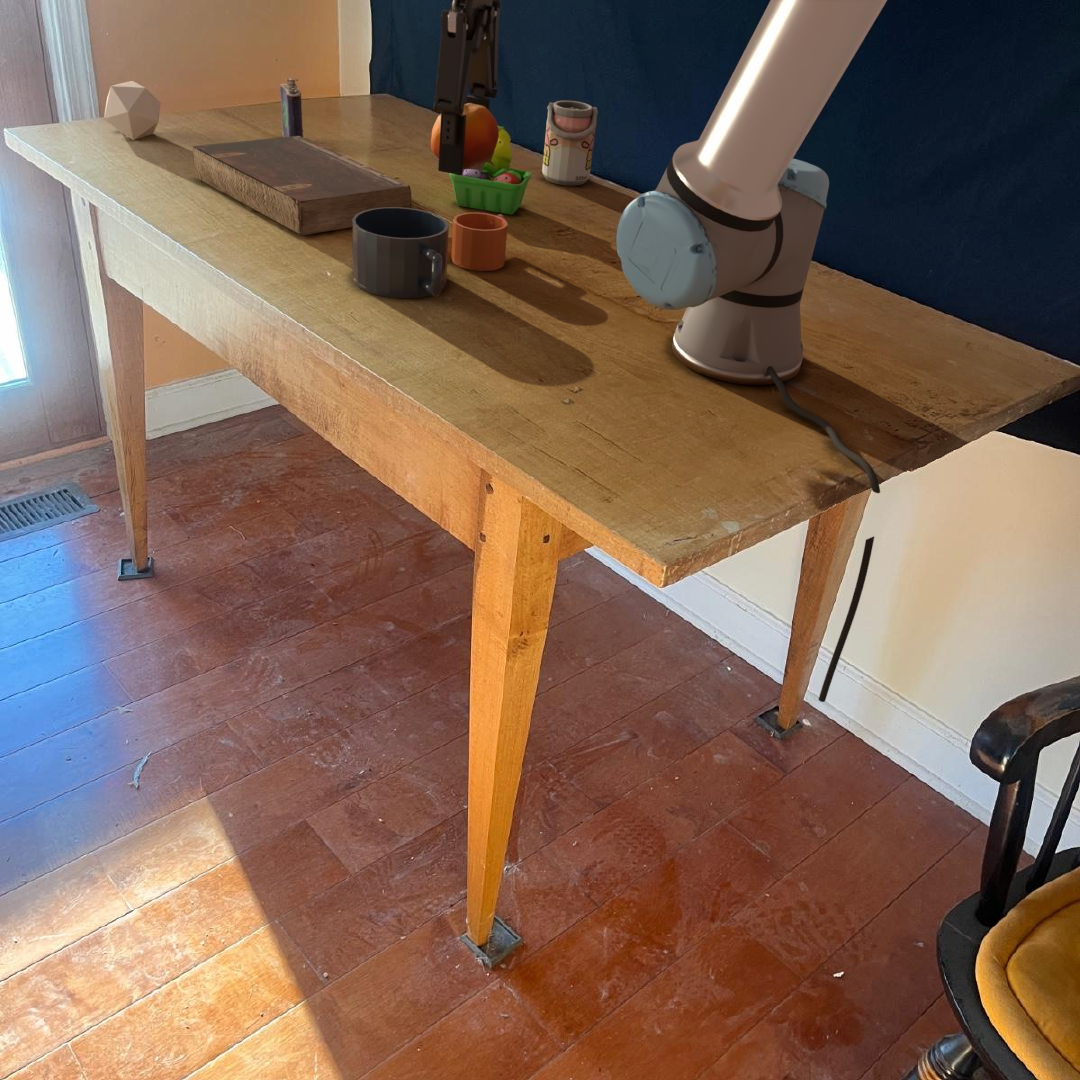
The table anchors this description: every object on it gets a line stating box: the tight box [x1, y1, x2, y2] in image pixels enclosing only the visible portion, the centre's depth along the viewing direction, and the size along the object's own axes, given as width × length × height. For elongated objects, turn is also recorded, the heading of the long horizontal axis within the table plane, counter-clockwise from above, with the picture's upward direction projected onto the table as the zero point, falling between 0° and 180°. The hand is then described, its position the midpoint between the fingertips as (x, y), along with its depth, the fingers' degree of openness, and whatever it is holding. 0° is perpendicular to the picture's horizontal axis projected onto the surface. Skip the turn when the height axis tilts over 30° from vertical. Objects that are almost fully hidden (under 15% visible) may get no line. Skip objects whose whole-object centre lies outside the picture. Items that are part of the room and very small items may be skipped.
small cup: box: [451, 211, 509, 272], centre depth 140 cm, size 10×7×6 cm
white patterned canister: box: [541, 100, 599, 187], centre depth 172 cm, size 9×8×12 cm
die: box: [103, 80, 162, 141], centre depth 171 cm, size 8×9×10 cm
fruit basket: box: [449, 125, 532, 216], centre depth 158 cm, size 11×9×11 cm
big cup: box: [351, 207, 450, 299], centre depth 129 cm, size 15×12×8 cm
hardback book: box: [192, 136, 412, 236], centre depth 154 cm, size 29×19×5 cm, turn 44°
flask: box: [279, 77, 304, 138], centre depth 175 cm, size 9×3×11 cm, turn 21°
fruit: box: [430, 103, 499, 172], centre depth 121 cm, size 8×8×8 cm
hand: (462, 162), depth 123 cm, fingers closed on fruit, 8 cm apart
